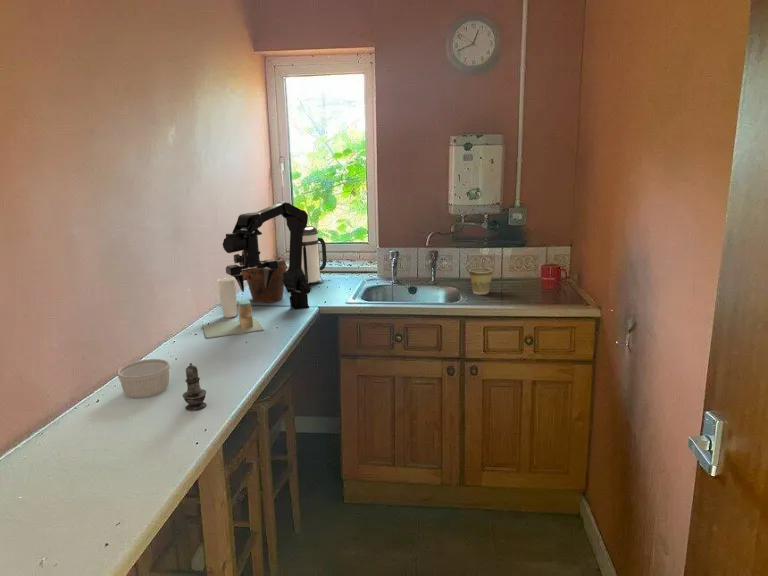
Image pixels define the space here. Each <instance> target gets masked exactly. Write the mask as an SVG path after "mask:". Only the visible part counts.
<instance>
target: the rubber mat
mask: <svg viewBox="0 0 768 576" xmlns="http://www.w3.org/2000/svg"><path fill="white" fill-rule="evenodd" d="M252 320H253V327H249V328H242V327H241V325H240V320H231V321H227V322H218V323H217V322H216V323H211V324H210V323H209V324H203V325H202V327H203V332H204V337H205V339H212V338H220V337H227V336H235V335H241V334H249V333H257V332H263V331H265V330H264V328H263V326H262V325H261V323H260V321H259V320H258V318H257V317H256V318H252Z"/></svg>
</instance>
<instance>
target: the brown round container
mask: <svg viewBox="0 0 768 576" xmlns="http://www.w3.org/2000/svg"><path fill="white" fill-rule="evenodd" d="M263 261H264V260H260V262H261V263H263ZM276 261H277V262H278V263H279V268H276V271H274V272H273V274H272V276H271V278H270V281H269V284H268V287H267V288H266V287H265V280H264V271H263V268H259V269H253V270H247V271H242V272H241V275H243V282H245V281H246V283H247V286H248V288H249V291H250V295H251V299H252V301H254V302H256V303H273V302H278V301H280V300H282V299H283V297H284V288H285V286H284V282H283V278H284V277H283V273H284V272H287V270H288V269H289V266H287V262H286V260H285V259H284V258H281V259H279V260H276ZM242 266H244V265H242ZM256 267H257V266H256ZM248 268H250V267H248Z"/></svg>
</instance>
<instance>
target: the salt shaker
mask: <svg viewBox="0 0 768 576" xmlns="http://www.w3.org/2000/svg"><path fill="white" fill-rule="evenodd" d="M198 371H199V370H198V367H197V366H195V365H193V363H192V362H190V363H189V365H188V366H187V367H186V368H185V374H186V375H185V376H186V379H185V380H184V381H185V383H186V385H187V391H185V392H183V394H182V398H183V399H184V401H185V402H186V404H187V405H186V406H185V407H184V408H185V410H186V411H188V412H196V411H201V410H203V409H205V408H206V407H207V403H206V402H204V400H205V399H206V395H207V391H206V390H205V389H203V388H201V385H200V380H201V378H200V377H199V372H198Z"/></svg>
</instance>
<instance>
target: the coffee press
mask: <svg viewBox="0 0 768 576" xmlns="http://www.w3.org/2000/svg"><path fill="white" fill-rule="evenodd" d="M318 234H319V231H318V230H317V227H316V226H315V227H314V226H313V225H307V226H306V228H305V230H304V231H303V240H302V266H301V268H302V271H303V273H304V275H305V282H306V283H307V284H308V285H309V284H310V283H311V284H313V283H317V282H319V283H320V284H324V279H323V278H322V276H321V271H323V270H324V269H325V268H326V265H327V248H326V247H327V246H326V242H325V240H324V238H322V237H318ZM319 242H320V244H321V255H322V263H320V261H321V258H320V248H319V246H320V245H319ZM320 279H321V281H320ZM309 286H310V285H309Z"/></svg>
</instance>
